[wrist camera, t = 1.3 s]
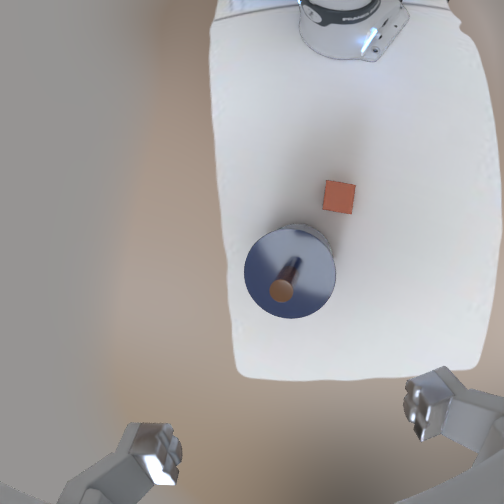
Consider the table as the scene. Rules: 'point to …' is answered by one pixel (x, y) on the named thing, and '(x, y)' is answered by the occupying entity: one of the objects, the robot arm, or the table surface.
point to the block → (339, 197)
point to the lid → (290, 273)
